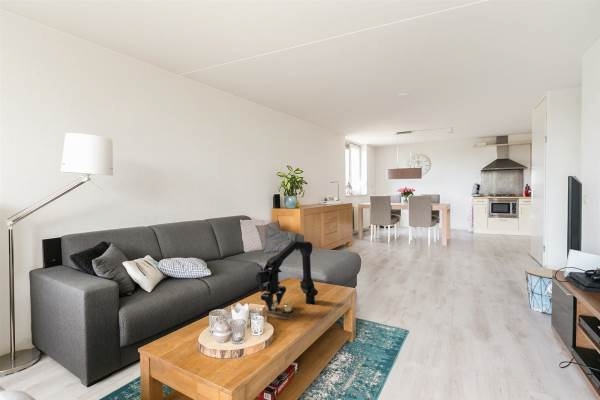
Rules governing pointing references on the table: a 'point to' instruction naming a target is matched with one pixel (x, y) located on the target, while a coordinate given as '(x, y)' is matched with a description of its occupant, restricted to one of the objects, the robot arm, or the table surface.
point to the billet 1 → (274, 306)
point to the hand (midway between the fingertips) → (274, 307)
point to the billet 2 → (287, 308)
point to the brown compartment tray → (281, 313)
